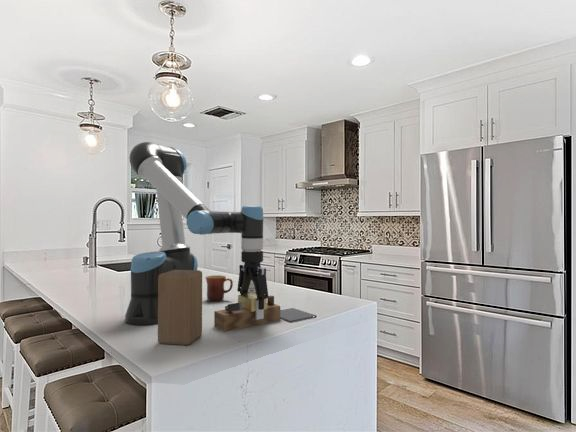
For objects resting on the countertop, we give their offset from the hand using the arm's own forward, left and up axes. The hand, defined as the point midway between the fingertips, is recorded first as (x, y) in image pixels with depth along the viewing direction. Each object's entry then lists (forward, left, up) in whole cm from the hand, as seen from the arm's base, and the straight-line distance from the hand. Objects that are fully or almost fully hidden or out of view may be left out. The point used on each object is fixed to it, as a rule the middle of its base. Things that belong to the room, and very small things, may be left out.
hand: (252, 315), depth 128 cm
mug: (+6, +38, -2) cm, 39 cm away
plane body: (-2, 0, -2) cm, 3 cm away
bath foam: (+18, +31, -2) cm, 36 cm away
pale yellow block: (0, 0, +3) cm, 3 cm away
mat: (+16, -1, -2) cm, 17 cm away
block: (-27, -3, -2) cm, 27 cm away
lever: (-9, 0, +4) cm, 10 cm away
